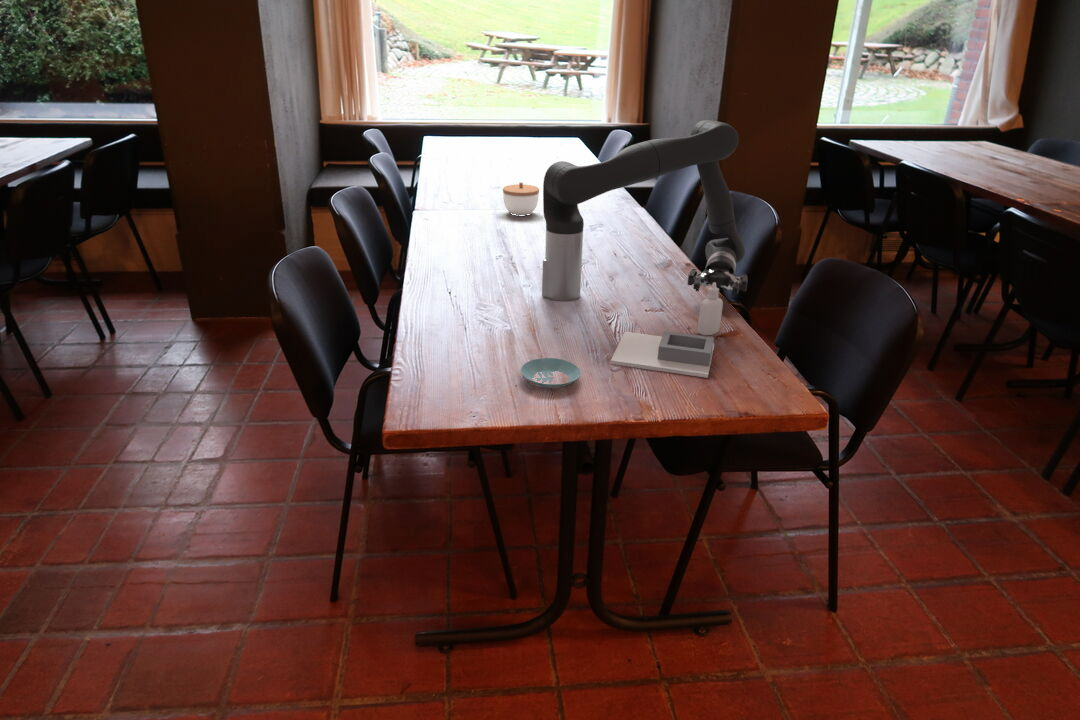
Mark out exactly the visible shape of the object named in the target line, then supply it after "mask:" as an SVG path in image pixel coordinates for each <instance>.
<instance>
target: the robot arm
mask: <svg viewBox="0 0 1080 720" xmlns="http://www.w3.org/2000/svg"><path fill="white" fill-rule="evenodd" d="M739 141H740V139H739V134H738V131H737V130H736V129H735V128H734V127H733V126H731V125H730V124H728V123H727V122H721V121H719V120H711V119H703V120H701V121H699V122H697V123H696V124H695V125H694V126H693V129H692V130H691V133H690V135H689V136H684V137H682V136H681V137H667V138H656V139H650V140H645V141H642V142H637V143H635V144H632V145H629V146H627V147H624V148H623V149H621V150H620V151H618V152H617V153H616V154H615V155H614V156H612V157H611V158H609V159H607V160H605V161H601V162H598V163H597V162H596V163H594V164H589V165H583V166H577V165H575V164H573V163H571V162H568V161H555V162H554V163H552V164H550V166H549V167H547V170H546V171H545V175H544V177H543V184H542V190H543V191H542V192H543V193H542V199H543V200H542V202H543V203H542V204H543V205H542V206H543V207H542V208H543V209H542V210H543V218H544V219H545V254H544V255H545V258H544V259H543V260H542V277H541V279H542V281H541V283H542V285H541V297H545V298H547V299H550V300H554V301H562V302H564V301H565V302H567V301H574V300H576V299H579V298H580V296H581V290H582V289H581V287H582V286H581V285H582V284H581V283H582V268H583V267H582V263H583V261H582V260H583V241H584V226H585V225H584V218H583V216H582V215H581V213H580V210H579V204H582V203H585V202H587V201H589V200H592V199H593V198H596V197H598V196H601V195H603V194H605V193H608V192H611V191H614V190H616V189H622V188H625V187H628V186H632V185H635V184H638V183H644V182H646V181H650V180H653V179H657V178H659V177H662V176H664V175H668V174H671V173H674V172H677V171H681V170H682V169H686V168H688V167H692V166H696V167H697V171H698V176H699V179H700V182H701V185H702V190H703V194H704V199H705V206H706V215H707V221H708V222H707V223H708V229H709V231H710V233H712V234H715V235H718V236H719V235H720V236H721V235H722V236H725V237H726V238H724V237H723V238H717V239H711V240H709V241H708V242H707V243H706V245H705V248H704V249H705V251H704V252H705V257H706V261H707V262H706V265H705V268H704V270H703V271H701V272H700V271H699V272H698V270H697V268H691V270H690V271H689V273H688V276H687V286H693V289H694V290H695V292H700V288H701V287H703V288H706V287H709V286H710V287H712V284H713V283H716V287H717V288H718V289H723V288H725V289H726V290H728V291H731V296H735V295H738V294H739V290H740V292H747V287H748V281H749V280H748V274H746V273H743V274H741V275H740V276H737V275H736V268H737V264H736V263H740V262H741V261H742V260H743V259H744V258H745V254H746V249H745V246H744V242H743V240H742V238H741V236H740V233H739V231H738V229H737V228H738V227H737V225H736V219H735V209H734V202H733V198H732V194H731V192H730V189H729V188H728V185H727V183H726V181H725V179H724V176H723V173H722V169H721V168H720V167H721V166H720V163H719V162H720V161H722V160H725V159H727V158H728V157H730V156H731V155H732V154H733V153H734V152H735V151H736V149H737V147H738V145H739Z"/></svg>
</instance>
